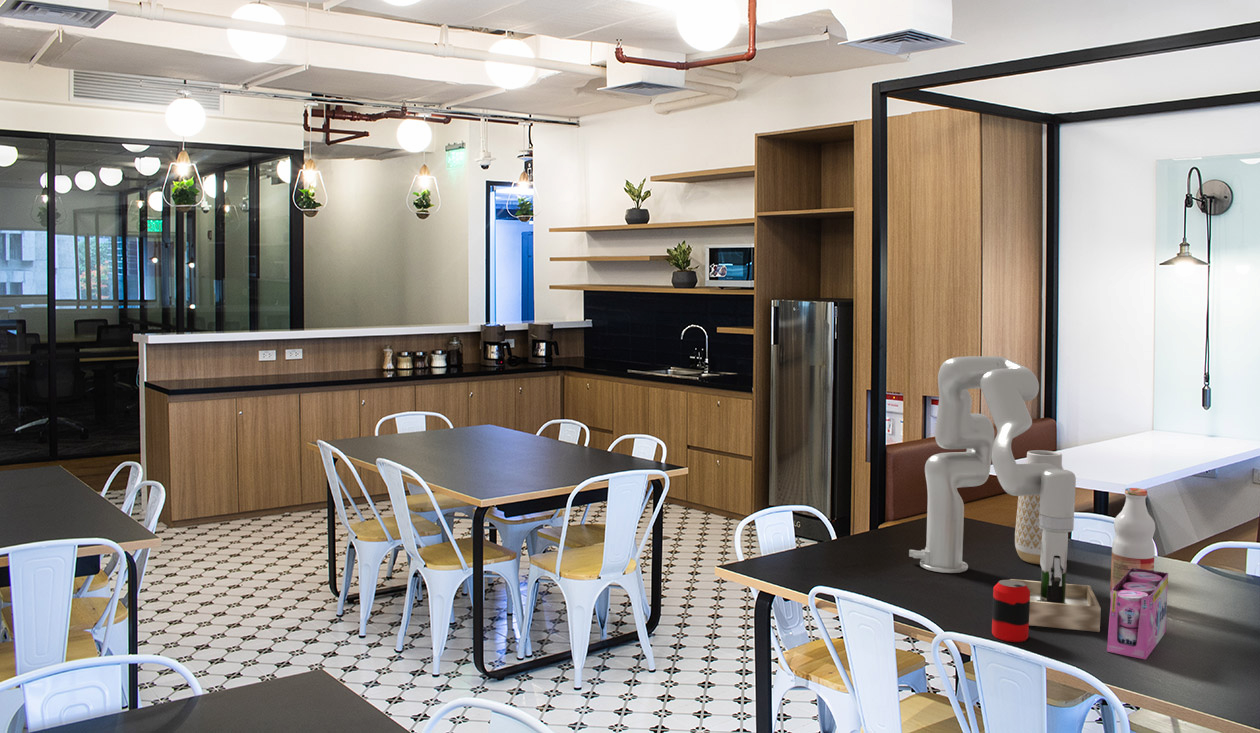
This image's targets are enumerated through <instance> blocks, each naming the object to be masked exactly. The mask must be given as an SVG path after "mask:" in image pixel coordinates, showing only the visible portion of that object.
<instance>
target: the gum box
mask: <svg viewBox="0 0 1260 733" xmlns="http://www.w3.org/2000/svg"><path fill="white" fill-rule="evenodd" d="M1168 586H1169V572H1163V571H1158V570H1154V571H1151V570H1144V569H1138V568H1132V569H1130V570H1129V571H1128V573H1127V574H1126V575H1125V576H1124V577H1123V578H1122V579H1121V580H1120V581H1119V582H1118V583H1117V584H1116V585H1115V586H1114V587H1113V589H1112V592H1111V598H1110V608H1109V609H1110V610H1109V617H1108V619H1109V620H1108V631H1107V632H1108V634H1107V646H1106V647H1107V649H1106V652H1109V653H1113V654H1117V655H1121V656H1126V657H1131V658H1136V659H1137V658H1138V659H1141V660H1144V661H1145V660H1147V659H1148V657H1149V656H1150V654H1151V653H1152V652H1153V651H1154V649H1155V648H1156V646H1157V645H1158V644H1159V642H1160V641H1161V639H1162V638H1163V637H1164V635H1165V633H1166V632H1167V627H1166V626H1167V614H1168V613H1167V610H1168V609H1167V608H1168V607H1167V606H1168Z"/></svg>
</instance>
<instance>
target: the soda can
mask: <svg viewBox="0 0 1260 733" xmlns="http://www.w3.org/2000/svg"><path fill="white" fill-rule="evenodd" d="M1029 608H1030V590H1029V589H1028V587H1027V586H1026V584H1025V583H1023V582H1020V581H1016V580H1010V579H1001V580H999V581H997V583H996V584H995V585H994V586H993V593H992V619H991V620H992V622H991V634H992V635H993V637H994V638H996V639H998V640H1001V641H1004V642H1010V643H1011V642H1012V643H1022V642H1025V641H1027V639H1028V638H1029V633H1030V631H1029V630H1030V628H1029V626H1030V625H1029Z"/></svg>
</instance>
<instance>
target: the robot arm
mask: <svg viewBox="0 0 1260 733" xmlns="http://www.w3.org/2000/svg"><path fill="white" fill-rule="evenodd" d="M937 386H938V398H939V399H938V404H937V414H936V415H937V416H936V421H935V422H936V423H935V429H934V430H935V431H934V432H935V433H934V434H935V435H934V438H935V443H936V444H937V446H938V447H940V448H941V449H945V450H966V451H960V452H959V451H958V452H957V451H956V452H954V451H953V452H940V453H936V454H933V455H931V456H930V457H928V459H927V460H926V461H925V465H924V474H925V481H926V489H927V490H926V491H927V510H926V514H927V515H926V516H927V517H926V545H925V547H924V549H921V550H916V549H909V550H908V556H909V557H911V558H913V559H920V561H919V566H920V567H921V568H923V569H925V570H928V571H931V572H935V573H943V574H957V573H958V574H960V573H964V572H966V571H967V570H969V565H968V563H967V562H965V561H963V550H964V549H963V548H964V546H963V545H964V544H963V543H964V516H965V504H964V501H963V499H962V497H961V495H960V493H959V491H958V488H969V487H971V488H972V487H979V486H981V485H984V484H985V483H986V482H987V481H988V479H989V477H990V472H991V466H992V467H993V470H994V472H995V475H996V478H997V480H998V483H999V484H1000V486H1001V487H1002V490H1004V492H1005V493H1007V494H1008V495H1010V496H1015V497H1018V496H1025V495H1040V510H1039V528H1041V529H1043V532H1042V543H1041V556H1040V567H1041V571H1042V570H1043V572H1045V573H1046V571H1048V572H1049V585H1047V602H1052V603H1061V602H1062V574H1064V573H1065V571H1066V565H1067V559H1068V543H1069V542H1068V540H1069V533H1071V532H1073V531H1074V525H1075V505H1076V487H1077V486H1076V485H1077V484H1076V482H1077V481H1076V480H1077V477H1076V475H1075V473H1074V472H1073V471H1071V470H1068V469H1064V468H1063V469H1059V468H1057V467H1055V466H1054V465H1051V464H1048V463H1031V464H1026V463H1017V462H1016V459H1015V457H1014V455H1013V451H1012V442H1013V439H1015V438H1016V437H1018V436H1020V435H1022V434H1024V433H1025V432H1026V431H1028V430H1029V429H1030V428H1031V426H1032V425H1033V419H1032V416H1031V415H1030V411H1029V410H1028V407H1027V404H1026V402H1028V401H1029V402H1031V401H1033V400H1034V399H1035V398H1036V397H1037V396H1038V394H1039V390H1040V383H1039V381H1038V378H1037V376H1036V375H1035V373H1034V372H1033V371H1032V370H1031V369H1030V368H1028V367H1026V366H1024V365H1021V364H1019V363H1017V362H1015V361H1013V360H1010V359H1009V358H1006V357H1003V356H997V355H995V356H993V355H991V356H988V355H987V356H984V355H983V356H980V355H979V356H977V355H976V356H974V355H971V356H956V357H951V358H949V359H947V360H945V361H944V362H943V363H941V365H940V368H939V370H938V375H937ZM970 389H972V390H973V389H977V390H978V389H979V390H981V392H982V394H983V397H984V400H985V402H986V405H987V407H988V410H989V414H990V415H991V418H992V419H993V423H994V424H993V423H992V420H991V419H990V418H989V417H988V416H987V415H986V414H983V413H977V412H975V413H972V405H973V400H972V397H971V396H972V395H971V393H970V391H969V390H970ZM994 425H995V428H996V432H997V433H996V436H995V428H994ZM1053 559H1054V563H1053ZM1051 569H1052V570H1054V572H1051ZM1062 569H1063V570H1062ZM1066 572H1067V571H1066ZM1052 575H1054V576H1052Z"/></svg>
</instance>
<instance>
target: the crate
mask: <svg viewBox="0 0 1260 733" xmlns="http://www.w3.org/2000/svg"><path fill="white" fill-rule="evenodd" d="M1009 580H1016V581H1020V582H1023V583H1025V584H1026V586H1027V587H1028V589H1029V590H1030V608H1029V626H1034V627H1035V626H1036V627H1045V628H1046V627H1047V628H1054V629H1065V630H1076V631H1084V632H1085V631H1086V632H1095V633H1096V632H1097V633H1100V631H1101V628H1100V627H1101V615H1102V614H1101V610H1102V609H1101V606H1100V605H1101V604H1100V603H1099V602H1098V599H1097V597H1096V595H1095V593H1094V592H1093V589H1092V587H1091V585H1087V584H1075V583H1074V584H1073V583H1066V592H1065V604H1062V603H1051V602H1040V595H1041V580H1040V581H1038V580H1028V579H1017V578H1016V579H1015V578H1010V579H1009Z"/></svg>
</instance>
